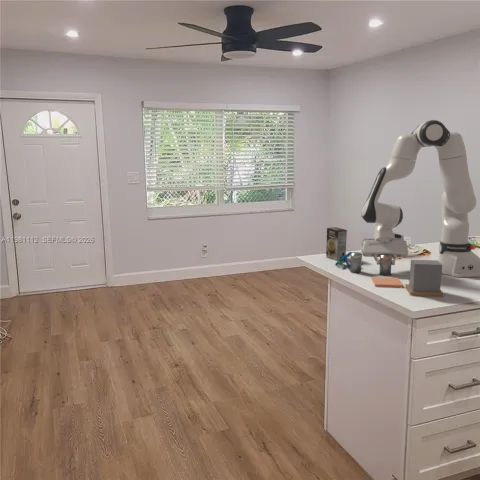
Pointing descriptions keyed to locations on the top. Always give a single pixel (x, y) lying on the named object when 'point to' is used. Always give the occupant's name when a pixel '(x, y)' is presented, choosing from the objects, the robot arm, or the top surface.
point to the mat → (386, 282)
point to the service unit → (425, 278)
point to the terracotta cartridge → (385, 264)
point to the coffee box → (336, 243)
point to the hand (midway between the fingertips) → (385, 264)
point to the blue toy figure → (343, 260)
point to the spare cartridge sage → (356, 262)
